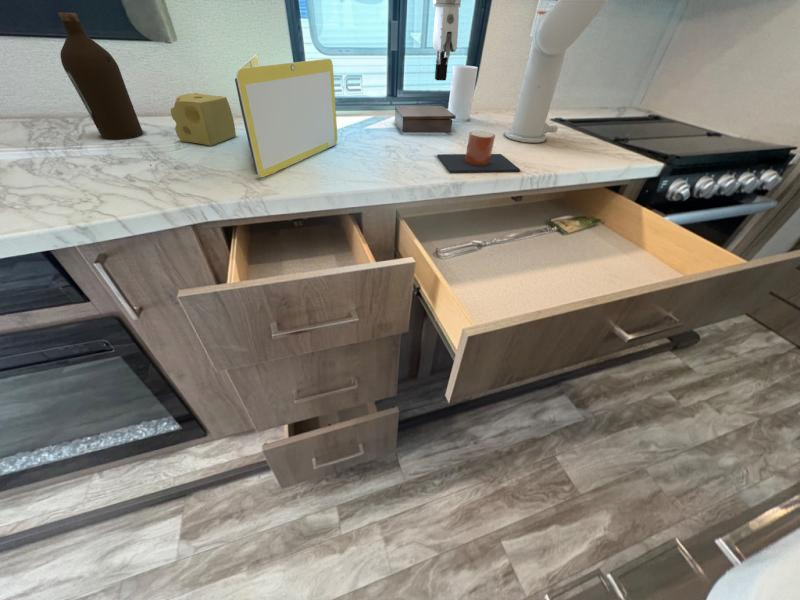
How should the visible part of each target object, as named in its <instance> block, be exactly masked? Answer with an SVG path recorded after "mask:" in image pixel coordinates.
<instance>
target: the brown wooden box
mask: <svg viewBox="0 0 800 600" xmlns="http://www.w3.org/2000/svg"><path fill="white" fill-rule="evenodd" d="M394 122H395V124H396V125H397V126H398V128H399V130H400V131H401V133H429V134H431V133H433V134H434V133H435V134H436V133H437V134H438V133H443V134H444V133H445V134H448V133H452V126H453V119H402V117H401V116H400V115H399V113H398V112H397V111H396V109H395V108H394Z"/></svg>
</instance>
